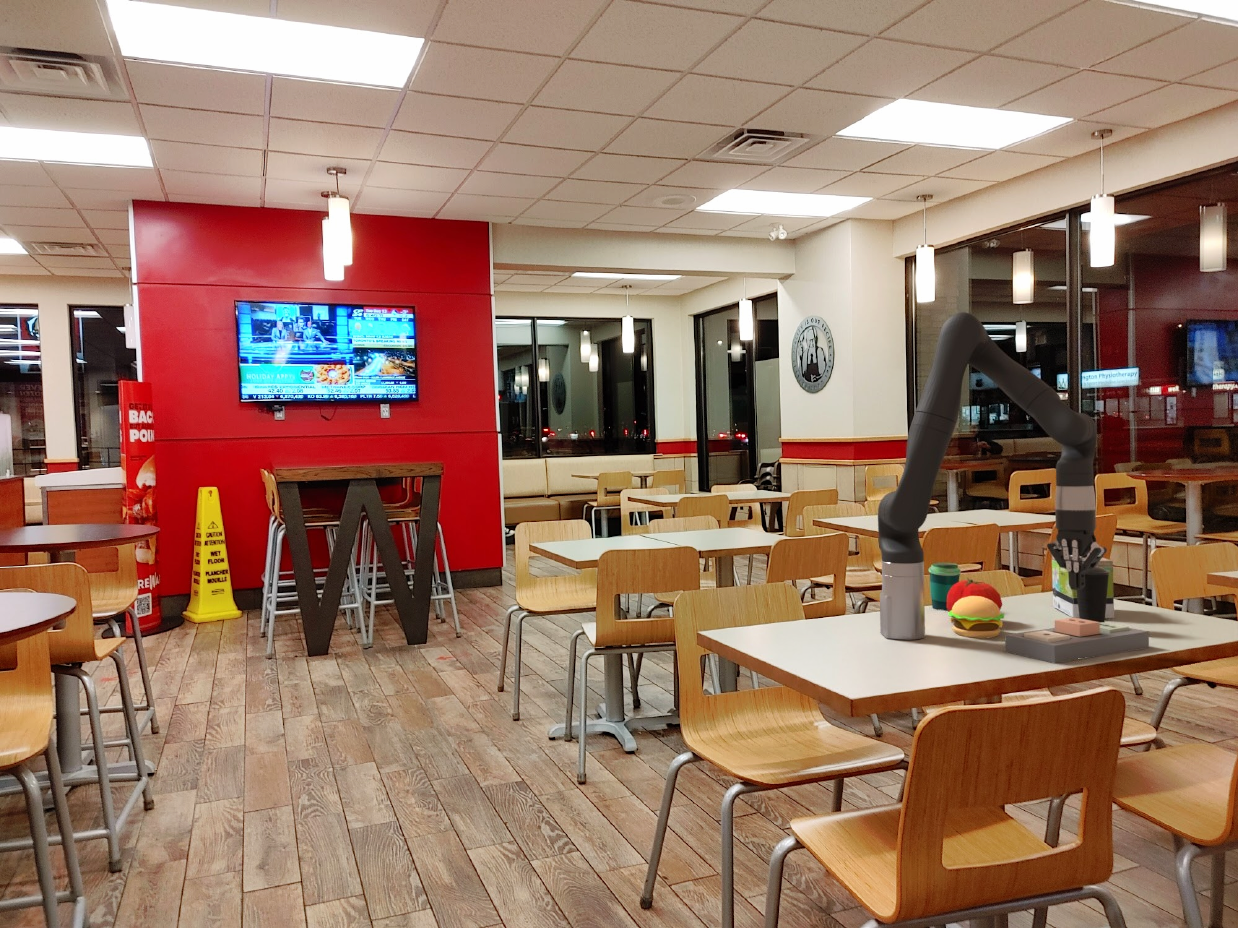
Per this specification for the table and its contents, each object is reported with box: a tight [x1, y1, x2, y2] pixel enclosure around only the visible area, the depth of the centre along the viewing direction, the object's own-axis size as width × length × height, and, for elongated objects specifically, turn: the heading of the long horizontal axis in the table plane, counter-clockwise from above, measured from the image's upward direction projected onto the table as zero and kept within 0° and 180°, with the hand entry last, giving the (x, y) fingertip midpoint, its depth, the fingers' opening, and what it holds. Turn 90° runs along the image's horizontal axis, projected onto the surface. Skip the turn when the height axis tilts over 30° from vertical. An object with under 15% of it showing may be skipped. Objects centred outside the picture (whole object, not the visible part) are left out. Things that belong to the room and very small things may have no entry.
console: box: [1004, 622, 1150, 664], centre depth 185 cm, size 28×12×4 cm, turn 114°
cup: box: [928, 562, 962, 611], centre depth 235 cm, size 8×8×12 cm
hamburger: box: [947, 596, 1005, 639], centre depth 203 cm, size 12×12×9 cm
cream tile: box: [1024, 631, 1070, 642], centre depth 182 cm, size 6×6×2 cm
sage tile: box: [1100, 621, 1130, 633], centre depth 189 cm, size 6×6×2 cm
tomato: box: [947, 577, 1003, 613], centre depth 216 cm, size 13×12×11 cm
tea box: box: [1051, 554, 1115, 619], centre depth 225 cm, size 15×10×15 cm, turn 172°
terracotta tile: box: [1054, 617, 1100, 637], centre depth 185 cm, size 6×6×2 cm
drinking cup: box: [1076, 552, 1110, 623], centre depth 206 cm, size 8×8×20 cm
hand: (1076, 589), depth 185 cm, fingers closed
